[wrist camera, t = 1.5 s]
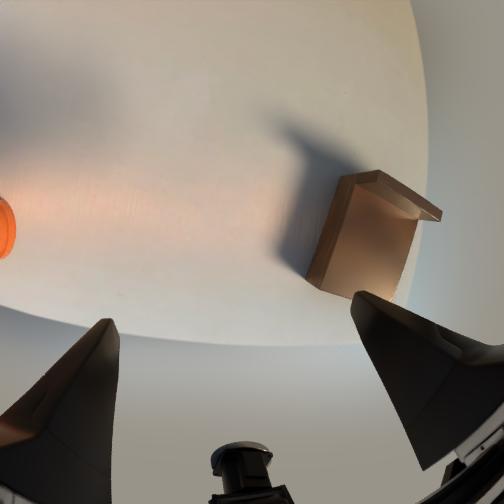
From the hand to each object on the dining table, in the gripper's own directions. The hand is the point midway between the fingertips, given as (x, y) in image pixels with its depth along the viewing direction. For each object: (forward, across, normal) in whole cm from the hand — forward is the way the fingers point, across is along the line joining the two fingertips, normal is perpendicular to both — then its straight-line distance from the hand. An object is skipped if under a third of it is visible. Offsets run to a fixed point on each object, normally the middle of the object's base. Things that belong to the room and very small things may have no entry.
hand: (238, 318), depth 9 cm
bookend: (+13, -13, +4) cm, 19 cm away
